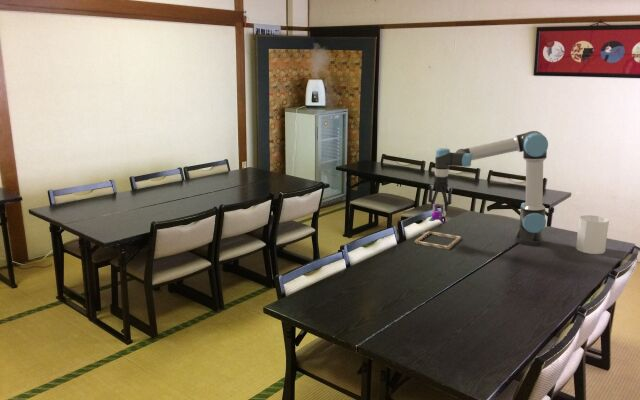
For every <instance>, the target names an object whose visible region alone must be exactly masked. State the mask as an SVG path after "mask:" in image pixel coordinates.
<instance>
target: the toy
mask: <svg viewBox="0 0 640 400" xmlns="http://www.w3.org/2000/svg"><path fill="white" fill-rule="evenodd" d="M434 207H435V212H433V211H432V213H433V214H431V217H430V218H429V220H428V221H429V222H435V221H440V222H441V223H442V225H445V224H446V223H447V222H445V221H444V220H445V216H444V217H443V211H442V212H441V211H440V210H439V209H438V204H437V203H436V205H435V206H434Z"/></svg>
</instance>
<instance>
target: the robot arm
mask: <svg viewBox="0 0 640 400" xmlns="http://www.w3.org/2000/svg"><path fill="white" fill-rule="evenodd" d="M548 148H549V141H548V139H547V137H546V136H545V135H544V134H543V133H541V132H540V131H537V130H531V131H528V132H523V133H520V134H516V135H515V136H514V137H511V138H507V139H503V140H499V141H494V142H493V141H492V142H490V143H485V144H480V145H475V146H472V147H468V148H459V149H457V150H456V151H455V152H451V150H450V148H447V147H446V148H445V147H439V148H437V149H436V151H435V160H434V161H435V163H434V166H435V167H434V176H433V177H434V179H433V180H434V181H433V184H430V185H428V190H429V191H428V203H431V204H430V205H431V207H430V208H431V209H432V214H433V212H435V207H434V206H435V205H436V204H437V203H436V199H437V198H438V194H439V193H441V194H442V197H443V203H444V205H443V206H442V207H443V208H442V213H443V214H442V215H443V217H444V218H445V217H446V215H447V213H446V212H447V211H448V210H449V209H448V208H449V206H450V205H451V204H452V197H453V196H452V195H453V194H452V192H453V187H451V186H449V170H450V169H449V167H463V168H465V167H467V168H470V167H471V166H472V161H475V160H476V161H477V160H480V159H481V160H482V159H485V158H490V157H495V156H500V155H503V154H509V153H514V152H518V153H522V154H523V157H522V158H523V160H524V161H525V202H522V203H520V204H521V205H520V213H519V214H520V215H519V224H518V229H517V231H516V234H515V236H514V241H515V242H516V243H518V244H521V245H526V246H540V245H542V244H543V239H544V238H543V236H542V231H543V230H544V229H545V227H546V224H547V221H546V206H544V204H543V196H544V195H543V191H544V189H543V187H544V161H545V160H546V159H547V156H548V155H547V153H548V151H547V150H548ZM447 191H448V192H447ZM433 192H434V193H433ZM432 214H431V215H432Z"/></svg>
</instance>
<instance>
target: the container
mask: <svg viewBox="0 0 640 400" xmlns="http://www.w3.org/2000/svg"><path fill="white" fill-rule="evenodd" d="M578 219H579V220H578V227H577V228H578V229H577V234H576V236H577V237H576V242H575V243H576V244H575V249H576V250H577V251H578V252H581V253H584V254H590V255H591V254H592V255H599V254H604V253H605V252H606V249H607V248H606V246H607V240H608V239H607V238H608V231H609V225H610V224H609V223H610V219H608V218H606V217H603V216H598V215H591V214H590V215H579V218H578Z"/></svg>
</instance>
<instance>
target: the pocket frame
mask: <svg viewBox="0 0 640 400" xmlns="http://www.w3.org/2000/svg"><path fill="white" fill-rule="evenodd" d="M430 234H432V235H431V236H436V235H437V236H436V237H444V238H448V239H449V238H450V239H454V240H453V241H451V243H449V244H447V245H444V244H437V243H433V242H432V243H431V242H426V241H422V240H424V239H425V238H426V237H428V236H430ZM419 235H421V236H419ZM427 235H428V236H427ZM418 236H419V237H417V238H416V239H415V240H414V241H413V243H416V244H417V245H420V244H421V246H425V247H426V246H428V247H431V246H432V248H438V249H444V250H450V249H452V248H453V246H455V245H456V244H457V243H458V242H460V241H461V240H462V235H461V236H460V235H454V234H448V233H443V232H435V231H429V230H428V231H427V232H426V231H421V232H419V234H418ZM423 238H424V239H423ZM420 240H421V241H420ZM416 244H415V245H416Z"/></svg>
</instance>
